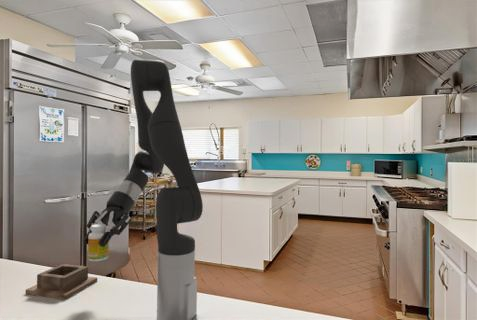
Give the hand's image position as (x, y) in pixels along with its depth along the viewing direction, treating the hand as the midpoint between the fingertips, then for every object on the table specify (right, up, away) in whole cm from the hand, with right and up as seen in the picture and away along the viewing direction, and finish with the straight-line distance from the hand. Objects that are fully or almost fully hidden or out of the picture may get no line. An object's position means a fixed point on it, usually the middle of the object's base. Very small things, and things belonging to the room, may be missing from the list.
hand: (93, 244), depth 84 cm
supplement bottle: (+1, -5, +2) cm, 5 cm away
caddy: (-13, -15, +7) cm, 21 cm away
